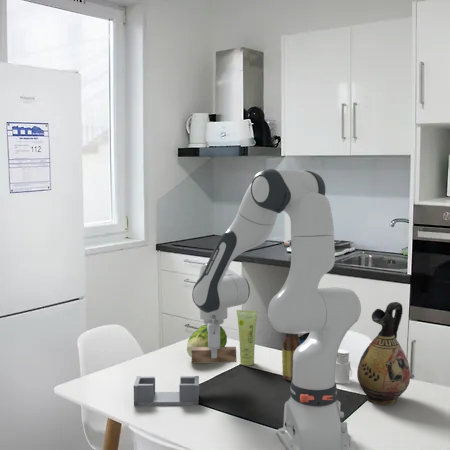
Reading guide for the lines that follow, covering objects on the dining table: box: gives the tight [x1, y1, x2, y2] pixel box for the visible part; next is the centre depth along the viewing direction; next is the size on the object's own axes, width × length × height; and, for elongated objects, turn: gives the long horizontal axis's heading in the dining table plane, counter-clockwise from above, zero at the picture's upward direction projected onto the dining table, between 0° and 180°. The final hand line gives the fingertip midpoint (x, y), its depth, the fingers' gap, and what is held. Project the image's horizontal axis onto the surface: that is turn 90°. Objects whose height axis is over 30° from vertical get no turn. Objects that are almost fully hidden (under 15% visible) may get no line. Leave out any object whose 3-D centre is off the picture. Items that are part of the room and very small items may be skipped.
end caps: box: [133, 375, 200, 406], centre depth 184 cm, size 19×8×6 cm, turn 91°
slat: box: [191, 346, 237, 364], centre depth 194 cm, size 14×4×4 cm, turn 92°
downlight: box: [335, 348, 353, 385], centre depth 202 cm, size 8×7×10 cm
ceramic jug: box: [356, 301, 411, 406], centre depth 185 cm, size 17×15×30 cm
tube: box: [236, 309, 258, 366], centre depth 217 cm, size 6×5×20 cm
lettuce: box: [186, 324, 228, 358], centre depth 224 cm, size 12×21×11 cm, turn 157°
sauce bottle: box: [281, 333, 301, 382], centre depth 203 cm, size 6×6×20 cm
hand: (214, 355), depth 194 cm, fingers closed on slat, 3 cm apart
